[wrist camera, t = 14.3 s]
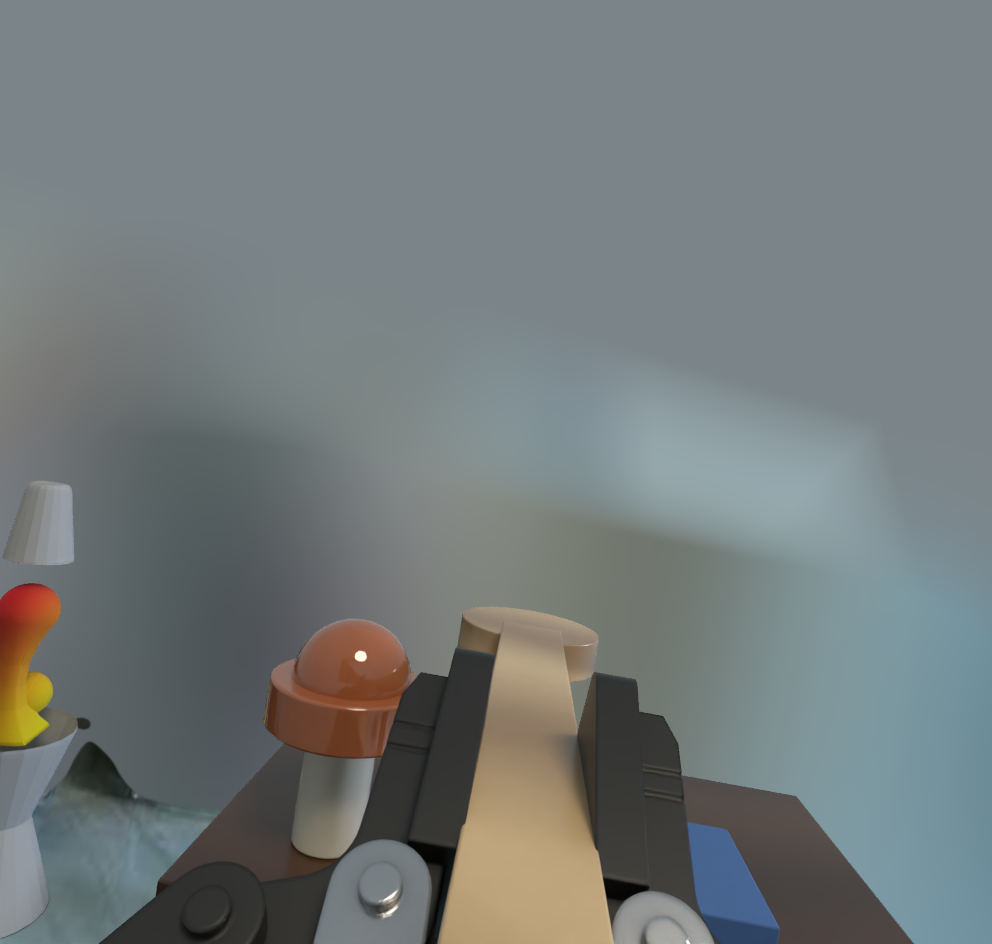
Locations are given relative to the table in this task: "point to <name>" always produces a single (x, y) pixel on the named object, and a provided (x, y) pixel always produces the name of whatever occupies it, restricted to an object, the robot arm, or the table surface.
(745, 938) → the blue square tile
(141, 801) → the table surface
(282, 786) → the stool
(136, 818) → the table surface
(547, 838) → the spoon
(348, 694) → the mushroom
